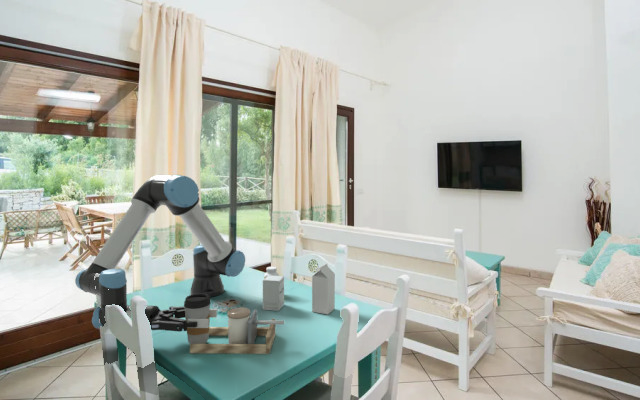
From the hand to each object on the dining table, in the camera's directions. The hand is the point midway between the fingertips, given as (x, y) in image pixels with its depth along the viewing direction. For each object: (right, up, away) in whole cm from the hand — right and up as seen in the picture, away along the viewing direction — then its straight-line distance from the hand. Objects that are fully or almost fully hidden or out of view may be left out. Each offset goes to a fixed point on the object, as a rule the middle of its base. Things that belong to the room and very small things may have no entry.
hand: (212, 318), depth 115 cm
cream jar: (+9, -9, +1) cm, 12 cm away
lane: (+7, -9, +1) cm, 11 cm away
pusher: (+18, -9, +1) cm, 20 cm away
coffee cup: (-5, -8, +1) cm, 10 cm away
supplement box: (+16, -7, +33) cm, 37 cm away
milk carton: (+37, -7, +29) cm, 48 cm away
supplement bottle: (+13, -6, +48) cm, 50 cm away
